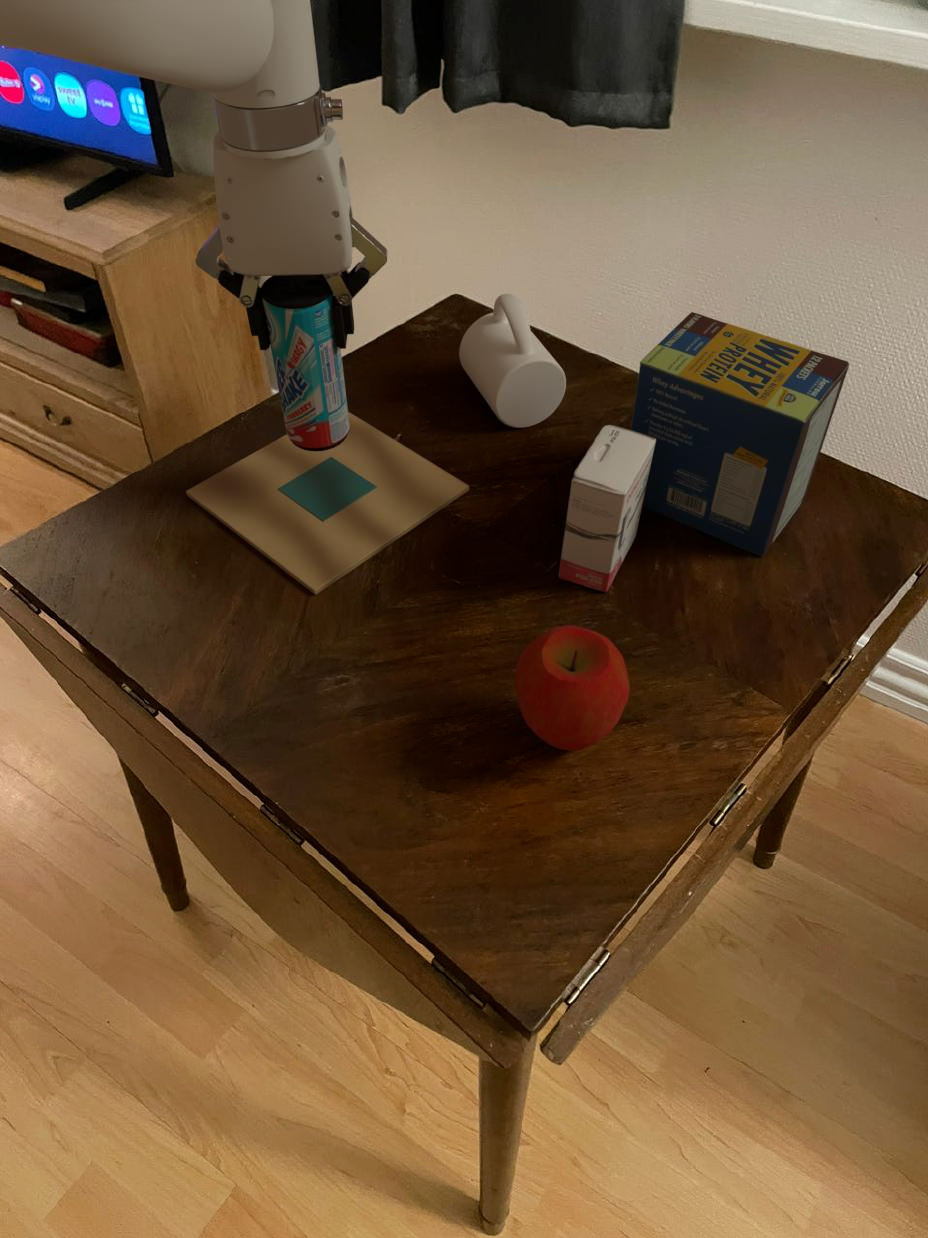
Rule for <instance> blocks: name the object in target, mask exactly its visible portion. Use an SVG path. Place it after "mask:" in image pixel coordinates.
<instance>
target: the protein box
mask: <svg viewBox="0 0 928 1238" xmlns="http://www.w3.org/2000/svg"><path fill="white" fill-rule="evenodd" d="M849 368H850V362H849V361H848V360H844V359H841V358H839V357H835V356H832V355H829V354H825V353H822V352H818V351H815V350H812V349H810V348H806V347H803V346H799V345H797V344H794V343H791V342H787V341H785V340H781V339H779V338H778V339H777V338H774V337H772V336H769V335H765V334H762V333H760V332H757V331H754V330H750V329H746V328H743V327H740V326H738V325H734V324H731V323H728V322H724V321H720V320H717V319H714V318H712V317H709V316H706V315H703V314H700V313H697V312H694V311H691V312H690V313H689V314H687V315H686V317H685V318H684V319H683V320H682V321H680V322H679V323H678V324H677V325H676V326H675V327H674V328H673V329H672V330H671V331H670V332H669V333H668V334H667V335H666V336H665V337H664V338H663V339H662V340H661V341H660V342H658V344H657V345H655V347H654V348H653V349H651V350H650V352H648V353H647V354H646V355H645V356H644V357H643V358H642V359H641V360H640V361H639V370H638V377H637V383H636V391H635V398H634V403H633V404H634V405H633V412H632V418H631V425H630V430H631V431H635V432H638V433H641V434H644V435H647V436H650V437H653V438H655V439H656V443H655V447H654V452H653V456H652V461H651V466H650V471H649V475H648V480H647V485H646V490H645V494H644V499H643V504H642V508H645V509H647V510H650V511H652V512H654V513H657V514H659V515H661V516H664V517H666V518H669V519H671V520H673V521H676V522H678V523H680V524H684V525H685V526H687V527H689V528H692V529H694V530H696V531H699V532H701V533H703V534H706V535H708V536H711V537H713V538H716V539H718V540H720V541H723V542H724V543H727V544H729V545H732V546H734V547H737V548H739V549H741V550H744V551H746V552H748V553H750V554H753V555H755V556H757V557H761V558H762V557H764V556H765V555H766V554H767V552H768V551H769V550H770V548H771V546H772V545H773V544H774V542H775V541H776V540H777V539H778V537H779V536H780V535H781V533H782V532H783V530H784V529H785V528H786V526H787V525H788V523H789V522H790V520H791V519H792V518H793V516H795V513H797V511H798V509H799V508H800V507H801V505H802V504H803V502H804V501H805V500H806V497H807V495H808V492H809V489H810V485H811V482H812V479H813V476H814V473H815V469H816V466H817V464H818V460H819V458H820V455H821V451H822V449H823V445H824V443H825V439H826V436H827V433H828V430H829V428H830V424H831V420H832V419H833V415H834V412H835V409H836V406H837V403H838V401H839V398H840V394H841V391H842V388H843V386H844V384H845V383H844V382H845V379H846V376H847V374H848V371H849Z"/></svg>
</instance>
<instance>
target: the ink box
mask: <svg viewBox="0 0 928 1238" xmlns="http://www.w3.org/2000/svg"><path fill="white" fill-rule="evenodd" d="M655 443H656V439H655V438H653V437H650V436H647V435H644V434H641V433H638V432H635V431H631V429H628V428H624V427H620V426H616V425H613V424H607V425H604V426H603V427H601V429H600V431H599V433H598V434H597V435H596V437H595V439H594V440H593V442H592V443H591V445H590V446H589V447H588V449H587V451H586V453H585V455H584V456H583V458H582V459H581V460H580V462H579V463H578V465H577V466H576V469H575V470H574V472H573V477H572V479H571V485H570V491H569V498H568V504H567V505H568V506H567V511H566V519H565V527H564V534H563V535H564V536H563V541H562V548H561V556H560V563H559V570H558V578H559V579H561V580H564V581H567V582H570V583H573V584H576V585H580V586H582V587H586V588H589V589H591V590H595V591H599V592H603V593H607V592H608V591H609V589H610V587H611V585H612V583H613V582H614V580H615V578H616V576H617V574H618V572H619V569H620V568H621V566H622V563H623V562H624V560H625V558H626V557H627V554H628V552H629V550H630V549H631V547H632V544H633V543H634V541H635V539H636V536H637V532H638V527H639V523H640V517H641V513H642V508H643V506H642V504H643V499H644V494H645V490H646V485H647V480H648V475H649V471H650V466H651V461H652V456H653V452H654V447H655Z"/></svg>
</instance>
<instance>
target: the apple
mask: <svg viewBox="0 0 928 1238" xmlns="http://www.w3.org/2000/svg"><path fill="white" fill-rule="evenodd" d="M514 673H515V674H514V682H513V686H514V691H515V696H516V701H517V704H518V707H519V709H520V712H521V715H522V717H523V719H524V722H525V724H526V726H527V727H528V728H529V729H530V730H531V731H532V732H533V733H534V734H535V736H537V737H538V738H539V739H541V740H542V741H543V742H544V743H546V744H548V745H549V746H551V747H554V748H555V749H558V750H563V751H572V752H575V751H579V750H584V749H586V748H588V747H591V746H593V745H595V744H597V743H598V742H599V741H600V740H602V739H603V738H605V736H607V735H608V734H609V733H611V731H612V730H613V729H614V727H616V725H617V724H618V723H619V721H620V718H621V717H622V714H623V712H624V709H625V707H626V705H627V702H628V700H629V697H630V689H631V685H630V680H629V675H628V670H627V667H626V662H625V659H624V656H623V655H622V653H621V652H620V651H619V649H618V648H617V646H616V645H615V644H614V643H613V642H612V641H611V640H610V639H609V638H608V637H607V636H605V635H603V634H601V633H599V632H598V631H596V630H592V629H588V628H585V627H580V626H577V625H574V624H573V625H572V624H567V625H561V626H554V627H552V628H550V629H548V630H546V631H545V632H544V633H542V634H540V635H538V636H537V637H536V638H534V639H533V640H532V641H531V642H530V643H529V644H527V646H526V647H525V649H524V650H523V651H522V652H521V654H520V656H519V657H518V659H517V663H516V666H515V672H514Z"/></svg>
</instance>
